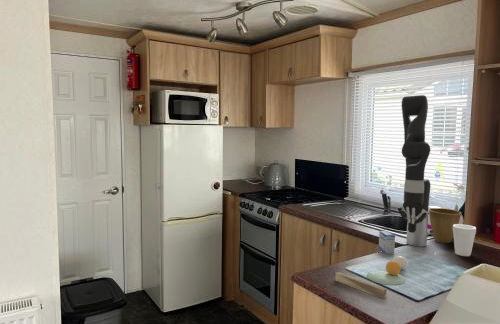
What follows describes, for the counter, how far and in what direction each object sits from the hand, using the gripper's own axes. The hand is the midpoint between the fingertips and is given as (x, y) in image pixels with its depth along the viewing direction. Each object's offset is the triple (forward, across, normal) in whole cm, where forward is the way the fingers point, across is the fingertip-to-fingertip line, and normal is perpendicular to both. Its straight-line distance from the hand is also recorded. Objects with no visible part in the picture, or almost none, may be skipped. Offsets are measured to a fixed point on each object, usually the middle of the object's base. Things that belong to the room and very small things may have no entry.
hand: (411, 232), depth 160 cm
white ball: (+12, -2, -5) cm, 14 cm away
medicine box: (+15, -19, +13) cm, 27 cm away
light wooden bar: (+15, 0, -36) cm, 39 cm away
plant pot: (+15, -10, +52) cm, 55 cm away
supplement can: (+15, -20, +63) cm, 68 cm away
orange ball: (+12, 0, -14) cm, 18 cm away
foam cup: (+15, +6, +37) cm, 40 cm away
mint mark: (+15, 0, -18) cm, 24 cm away
